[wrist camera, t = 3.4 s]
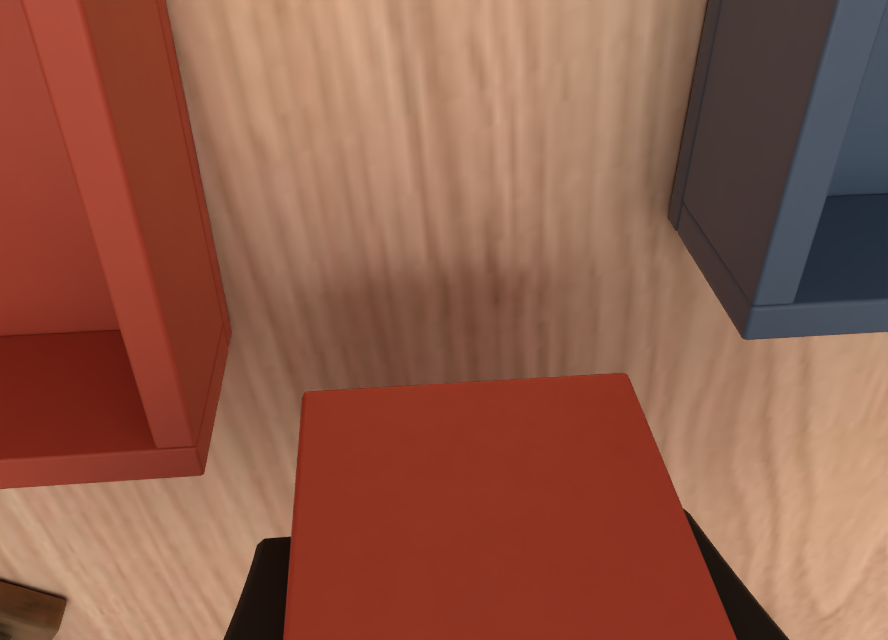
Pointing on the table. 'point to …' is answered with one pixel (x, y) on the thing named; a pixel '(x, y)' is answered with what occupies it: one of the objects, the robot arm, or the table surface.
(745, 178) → the blue bin
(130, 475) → the red bin
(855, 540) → the table surface
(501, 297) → the table surface
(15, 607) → the figurine
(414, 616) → the red block
